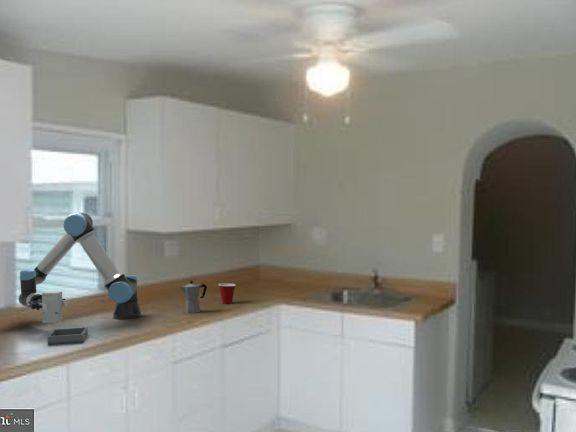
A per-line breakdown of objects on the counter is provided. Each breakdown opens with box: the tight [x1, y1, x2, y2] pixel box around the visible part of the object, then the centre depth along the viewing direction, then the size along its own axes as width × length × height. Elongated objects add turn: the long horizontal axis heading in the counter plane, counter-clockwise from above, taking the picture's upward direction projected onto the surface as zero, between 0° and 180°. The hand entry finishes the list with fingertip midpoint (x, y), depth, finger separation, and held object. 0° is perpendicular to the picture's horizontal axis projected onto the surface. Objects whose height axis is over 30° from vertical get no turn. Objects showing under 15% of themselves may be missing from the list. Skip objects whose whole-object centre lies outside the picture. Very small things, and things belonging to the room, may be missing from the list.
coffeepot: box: [179, 280, 208, 314], centre depth 332 cm, size 15×9×18 cm, turn 110°
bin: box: [47, 326, 89, 346], centre depth 270 cm, size 15×15×4 cm
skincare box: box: [41, 290, 64, 324], centre depth 286 cm, size 8×6×15 cm
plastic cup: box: [218, 283, 237, 305], centre depth 356 cm, size 11×11×12 cm
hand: (56, 305), depth 283 cm, fingers closed on skincare box, 9 cm apart
